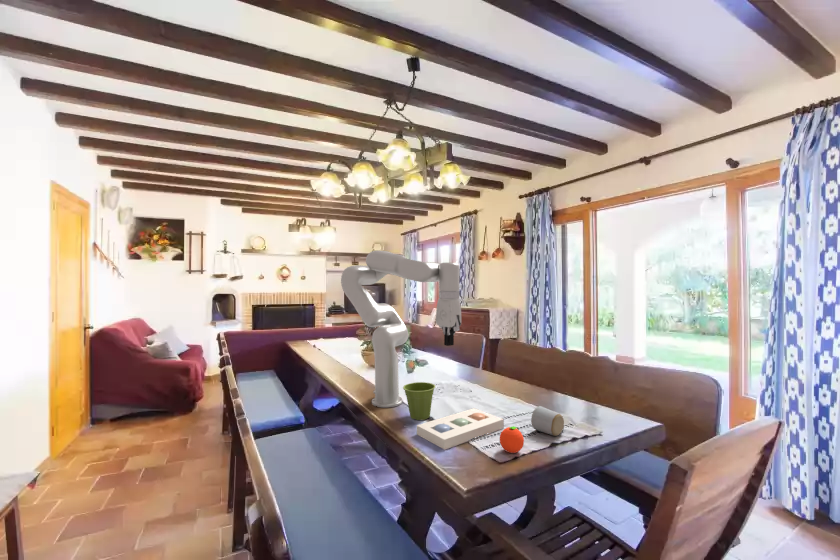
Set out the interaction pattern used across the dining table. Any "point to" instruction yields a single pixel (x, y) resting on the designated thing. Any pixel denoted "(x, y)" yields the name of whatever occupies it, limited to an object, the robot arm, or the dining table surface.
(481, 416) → the terracotta button
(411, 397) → the plant pot
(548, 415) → the grey canister
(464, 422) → the green button
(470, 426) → the console
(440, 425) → the blue button
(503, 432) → the clementine
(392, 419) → the dining table surface
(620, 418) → the dining table surface
